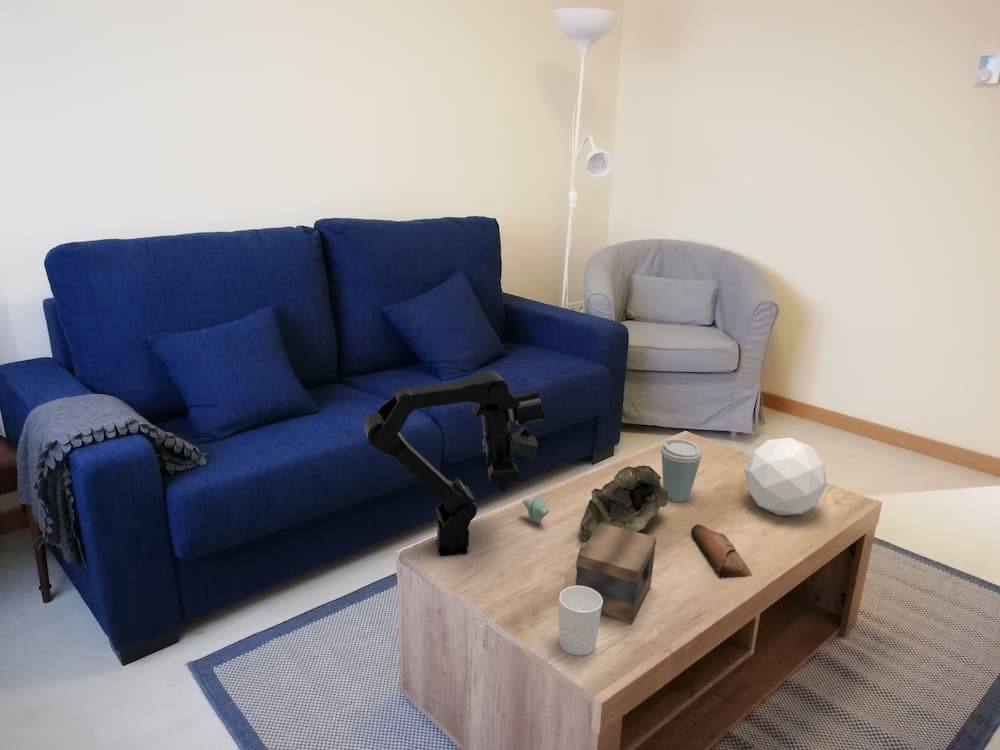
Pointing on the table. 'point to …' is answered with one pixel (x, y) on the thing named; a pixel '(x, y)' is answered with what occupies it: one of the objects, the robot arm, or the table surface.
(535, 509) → the pale green bulging piece
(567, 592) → the white cup
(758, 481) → the geometric sphere
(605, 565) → the walnut block
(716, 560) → the sunglasses case
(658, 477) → the hollow geode rock
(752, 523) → the table surface
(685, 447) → the disposable coffee cup
